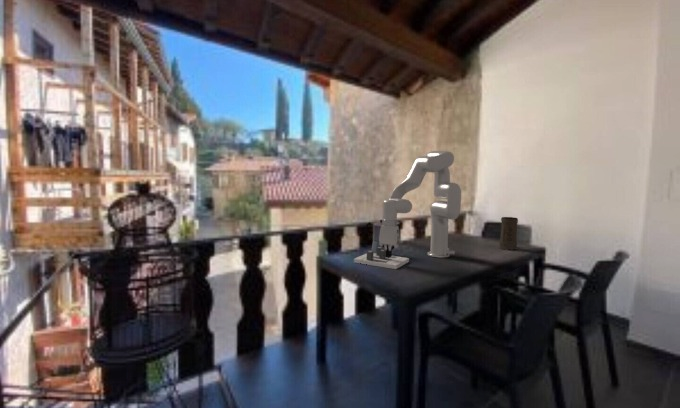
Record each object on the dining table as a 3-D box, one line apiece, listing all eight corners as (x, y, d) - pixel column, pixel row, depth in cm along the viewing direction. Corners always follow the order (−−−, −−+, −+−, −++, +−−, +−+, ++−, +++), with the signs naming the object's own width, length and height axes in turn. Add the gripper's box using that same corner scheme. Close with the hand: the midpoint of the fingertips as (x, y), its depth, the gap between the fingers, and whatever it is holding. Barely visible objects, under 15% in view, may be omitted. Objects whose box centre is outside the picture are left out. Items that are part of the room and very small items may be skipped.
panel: (408, 261, 226) (408, 257, 225) (395, 269, 210) (396, 265, 210) (368, 255, 238) (368, 252, 237) (353, 262, 222) (353, 258, 222)
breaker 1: (373, 258, 221) (373, 251, 221) (370, 260, 219) (371, 252, 218) (369, 258, 222) (369, 250, 222) (366, 259, 220) (366, 251, 219)
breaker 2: (382, 254, 231) (382, 247, 231) (380, 255, 229) (380, 248, 228) (378, 253, 233) (378, 246, 232) (376, 255, 230) (376, 247, 230)
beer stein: (520, 250, 258) (521, 218, 257) (502, 250, 258) (504, 217, 257) (510, 247, 273) (511, 216, 272) (493, 246, 273) (495, 216, 273)
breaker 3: (385, 257, 224) (385, 250, 224) (383, 258, 221) (383, 251, 221) (381, 257, 225) (381, 249, 225) (379, 258, 223) (379, 250, 222)
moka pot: (390, 256, 237) (391, 221, 235) (363, 254, 240) (364, 220, 238) (391, 252, 247) (393, 219, 244) (366, 251, 250) (366, 217, 247)
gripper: (405, 223, 219) (404, 257, 221) (379, 221, 226) (378, 254, 228) (400, 225, 213) (399, 260, 215) (373, 222, 220) (372, 256, 222)
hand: (388, 257), depth 221 cm, fingers closed
